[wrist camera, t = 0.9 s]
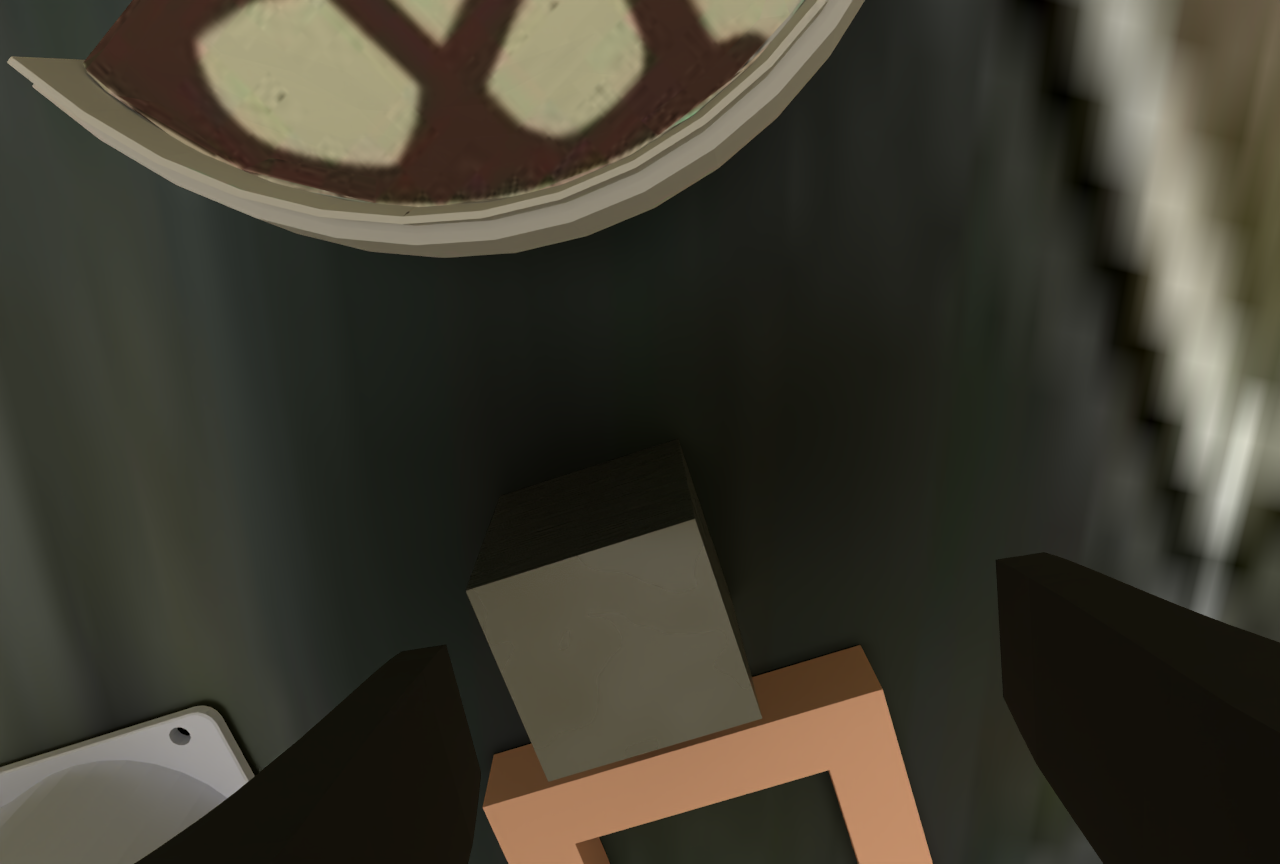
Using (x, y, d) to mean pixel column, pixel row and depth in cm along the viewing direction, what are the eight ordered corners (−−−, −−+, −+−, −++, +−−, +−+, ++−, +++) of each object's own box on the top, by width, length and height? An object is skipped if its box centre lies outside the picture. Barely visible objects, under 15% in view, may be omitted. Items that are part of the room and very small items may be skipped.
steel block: (563, 651, 23) (548, 781, 18) (500, 494, 21) (465, 590, 17) (732, 599, 22) (762, 718, 17) (677, 437, 21) (695, 518, 16)
